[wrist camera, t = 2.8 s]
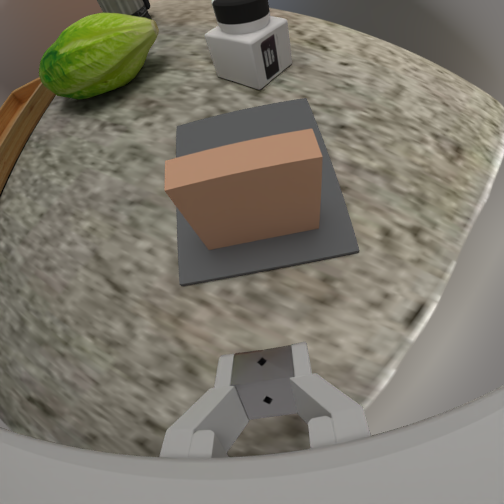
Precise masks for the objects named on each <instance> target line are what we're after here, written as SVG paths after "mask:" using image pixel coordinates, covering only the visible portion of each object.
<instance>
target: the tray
mask: <svg viewBox="0 0 504 504" xmlns="http://www.w3.org/2000/svg"><path fill="white" fill-rule="evenodd" d="M55 95H56V94H54V93H53V92H52V91H50V90H49V89H47V88H46V87H45V86H44V85H43V84H42V82H41V79H40V77H39V78H37V79H35V80H33V81H31V82H29V83H27V84H25V85H24V86H22V87H20V88H18V89H16V90H14V91H12V93H11V94H10V96H9V97H8V98H7V100H6V101H5V102H4V104H3V105H2V107H1V108H0V194H1V191H2V189H3V187H4V185H5V182H6V180H7V178H8V176H9V174H10V172H11V170H12V168H13V166H14V164H15V162H16V160H17V158H18V156H19V154H20V152H21V151H22V149H23V147H24V145H25V143H26V142H27V140H28V138H29V136H30V135H31V133H32V131H33V130H34V128H35V126H36V125H37V123H38V121H39V120H40V118H41V117H42V115H43V113H44V112H45V110H46V109H47V107H48V106H49V104H50V103H51V101H52V100H53V98H54V97H55Z"/></svg>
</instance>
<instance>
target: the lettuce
mask: <svg viewBox="0 0 504 504" xmlns="http://www.w3.org/2000/svg"><path fill="white" fill-rule="evenodd" d="M158 32H159V29H158V27H157V24H156V22H155V21H154V20H151V19H147V18H143V17H137V16H131V15H126V14H119V13H98V14H93V15H89V16H87V17H85V18H82V19H81V20H79V21H77V22H76V23H74V24H72V25H71V26H69V27H68V28H67V29H65V30H64V31H63V32H62V33H61V34H60V36H59V37H58V39H57V40H56V42H55V43H54V44H52V45H51V46H50V47H49V48H48V49H47V51H46V52H45V53H44V55H43V57H42V59H41V62H40V68H39V76H40V79H41V82H42V84H43V85H44V86H45V87H46V88H47V89H49V90H50V91H52V92H53V93H54V94H56V95H57V96H62V97H68V98H73V99H87V98H90V97H93V96H96V95H99V94H102V93H105V92H108V91H111V90H114V89H117V88H119V87H122V86H124V85H126V84H127V83H129V82H130V81H131V80H132V79H134V78H135V76H136V75H137V74H138V72H139V71H140V69H141V68H142V66H143V65H144V62H145V60H146V57H147V54H148V52H149V49H150V48H151V46H152V45H153V43H154V42H155V40H156V37H157V35H158Z"/></svg>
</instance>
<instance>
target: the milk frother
mask: <svg viewBox="0 0 504 504" xmlns="http://www.w3.org/2000/svg"><path fill="white" fill-rule="evenodd" d="M97 1H98V3H99V5H100V7H101V9H102V11H103V13H119V14H126V15H131V16H137V17H143V18H147V19H151V17H150V15H149V13H148V11H147V10H148V9H150V3H149V1H148V0H97ZM151 20H152V19H151Z"/></svg>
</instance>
